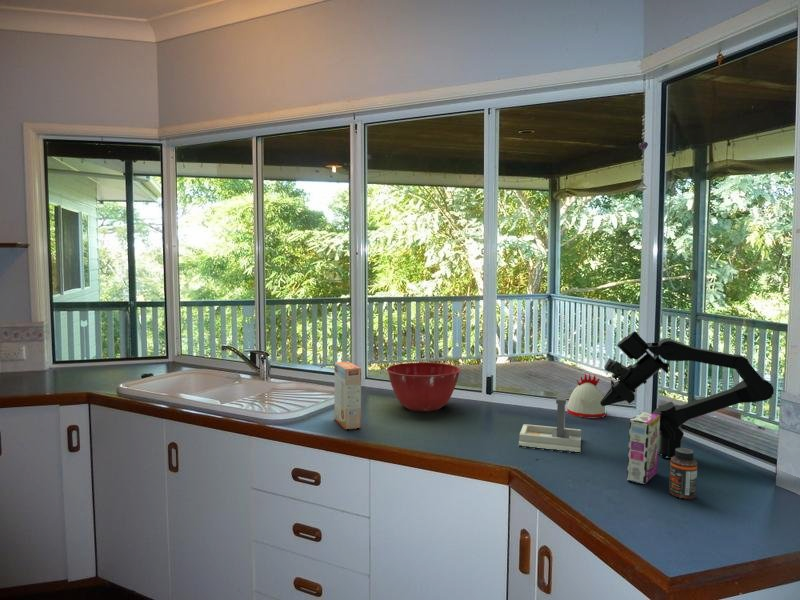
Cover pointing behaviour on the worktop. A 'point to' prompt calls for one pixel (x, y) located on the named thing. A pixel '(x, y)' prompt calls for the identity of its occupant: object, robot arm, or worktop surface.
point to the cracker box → (347, 395)
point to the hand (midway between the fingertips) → (601, 404)
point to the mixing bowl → (423, 384)
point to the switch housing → (549, 438)
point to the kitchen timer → (586, 399)
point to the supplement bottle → (683, 474)
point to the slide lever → (561, 417)
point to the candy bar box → (643, 447)
